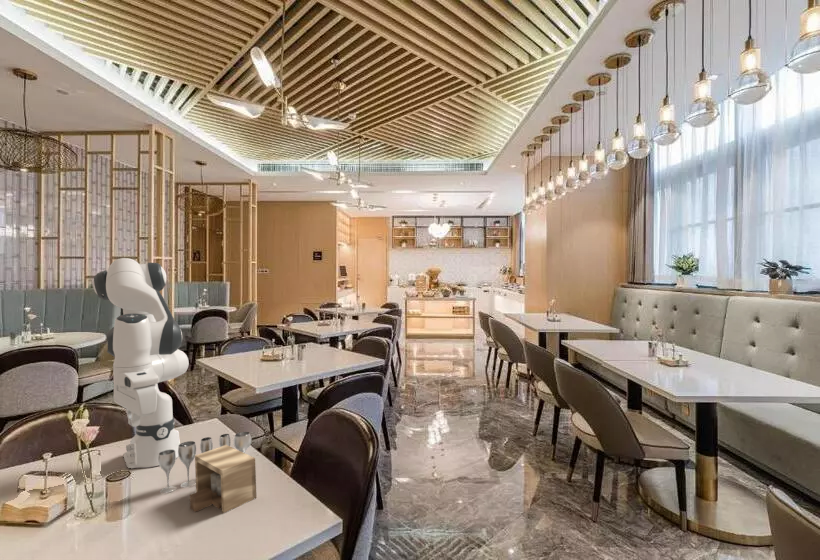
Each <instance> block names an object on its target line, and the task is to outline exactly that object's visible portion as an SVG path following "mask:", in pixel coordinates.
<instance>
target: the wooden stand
mask: <svg viewBox="0 0 820 560" xmlns="http://www.w3.org/2000/svg"><path fill="white" fill-rule="evenodd" d="M194 466H195V469H194V470H195V481H196V484H195V493H196V492H198V491H201V490H203V489H206V488H208V489H211V474H212V473H214V472H216V473H218V474H220V475H221V498H222V508H221V513H223V514H225V513H228V512H229V510H230V511H231V509H232V510H234V509H235V508H238V507H240V506H242V504H243V505H244V503H245V504H246V502H247V503H249V502H251V501H253V500H255V499H257V476H256V475H257V471H256V458H255V457H254V456H251V455H249V454H247V453H246V452H245V453H243V452H241V451H239V450H237V449H236V448H235V447H232V446H231V445H230V446H228V445H224V446H222V447H220V446H219V447H216V448H212V450H210V451H207V452H204V453H201V452H200V453H198V454H196V455H195V458H194ZM254 498H255V499H254ZM248 501H249V502H248ZM233 508H234V509H233ZM227 511H228V512H227Z"/></svg>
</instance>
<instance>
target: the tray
mask: <svg viewBox="0 0 820 560" xmlns="http://www.w3.org/2000/svg"><path fill="white" fill-rule="evenodd" d="M212 504H213V506H214V507H216V508H217V509H219V510H220V509H222V498H221V475H220V474H218V473H216V472H214V473H212V474H211V489H208V488H206V489H203V490H201V491H198V492H196V491H195V492H193V493H191V494H189V509H190V510H191V511H192V512H195V513H196V512H199V511H201V510H203V509H205V507H206V508H208V507H210V506H212Z"/></svg>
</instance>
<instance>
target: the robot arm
mask: <svg viewBox="0 0 820 560" xmlns="http://www.w3.org/2000/svg"><path fill="white" fill-rule="evenodd" d="M167 277H168V276H167V273H166V271H165V269H164V268H163V267H162V265H161V264H160V263H159V262H147V263H139V262H138V261H137V260H136V259H135V260H134V259H132V258H130V257H129V258H127V257H121V258H117V259H115V260H114V261H113V262H112V263H110V265H109V266H108V268H107V270H106V269H105V270H102V271H100V272H98V273H96V274H95V275H94V277H93V282H92V288H93V291H94V293H95V294H96V295H97V296H98V298H99V299H101V300H103V301H110V303H111V304H112V305H114V306H116V307H117V308H120V309H122V313H123V314H121V315H118V316H117V317H116V318H115V319H114V325H113V327H112V328H111V329H109V330H108V331H107V332H106V340H107V350H106V353H107V354H110V355H111V356H112V357H114V359H113V364H112V368H113V369H112V372H113V373H112V374H113V401H114V403H116V404H117V405H119V406H120V407H122V408H124V409H125V412H126V416H127V420H128V425H130V426H131V427H132V428H135V435H134V436H133V437H132V438H131V439H130V440H129V444H126V447H125V448H126V449H125V450H126V452H124V453H123V454H122V457H124V458H123V460H124V462H126V463H125V465H126V467H128V468H131V469H139V468H152V467H157V466H160V465H159V461H158V458H159V453H160V452H162V451H165V450H175V455H176V459H177V458H179V456H178V447H179V444H181V441H180V440H181V439H180V432H179V430H177V429H175V423H176V422H175V421H176V420H175V417H174V415H173V414H174V413H173V399H172V397H171V396H170V395H169V394H167V393H166V392H162V391H160V389H159V385H158V384H159V383H163V382H166V381H169V380H173V379H176V378H178V377H180V376H182V375H183V374H185V373H186V372H187V370H188V368H189V365H190V363H189V357H188V355H187V354H186V353H185V352H184V351H182V350H181V349H180V347H182V345H183V332H182V329H181V327H180V325H179V323H178V322H177V321H176V320H175V318H174V316H173V314H172V312H171V310H170V308H169V306H168V303H167V302H166V300H165V299H164V296H163V295H162V293H161V291H162V290H163V289H164V288H165V286H166V285H167V280H168V279H167ZM128 468H127V469H128Z"/></svg>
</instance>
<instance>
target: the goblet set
mask: <svg viewBox="0 0 820 560" xmlns="http://www.w3.org/2000/svg"><path fill="white" fill-rule="evenodd" d="M218 442H219V443H218V445H219V447H222V446H224V445H228V446H230V447H231V436H230V433H223V434H220V435H219V439H218ZM199 445H200V446H199V449H200V454H201V453H204V452H207V451H210V450H213V449H214V448H213V438H212V437H209V436H208V437H202V438H201V439H200V444H199ZM250 445H252V436H251V434H250V432H249V431H240V432H238V433H236V434H235V435H234V437H233V448H234V449H236V450H239V451H241V452H243V453H245V454H246V451H247V450H248V449H249V447H250ZM196 453H197V444H196V442H195V441H193V440H189V441H183V442H182V443H181V442H180V444H179V447H178V458H179V460H180V462H181V463H182V464H183V465H184V466H185V468H186V475H187V480H186V481H183V482H182V483H181V484H180V486H179V487H180V488H184V489H186V488H190V487H191V488H192V487H193V486H195V485H196V484H195V483H196V480H190V466H191V464H192V462H193V461H194V460H195V455H197V454H196ZM176 459H177V458H176V455H175V450H165V451H162V452H160V453H159V458H158V461H159V465H158V466H159V467H160V468H161V470H163V472H164V473H165V475H166V482H167V485H166V487H163V488H162V489H160V492H159V493H160V494H169V493H172V492H174V491H175V490H176V489H177V486H173V485H170V480H169V479H170V473H171V470H172V469H173V467H174V466H175V464H176ZM194 484H195V485H194Z"/></svg>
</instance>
